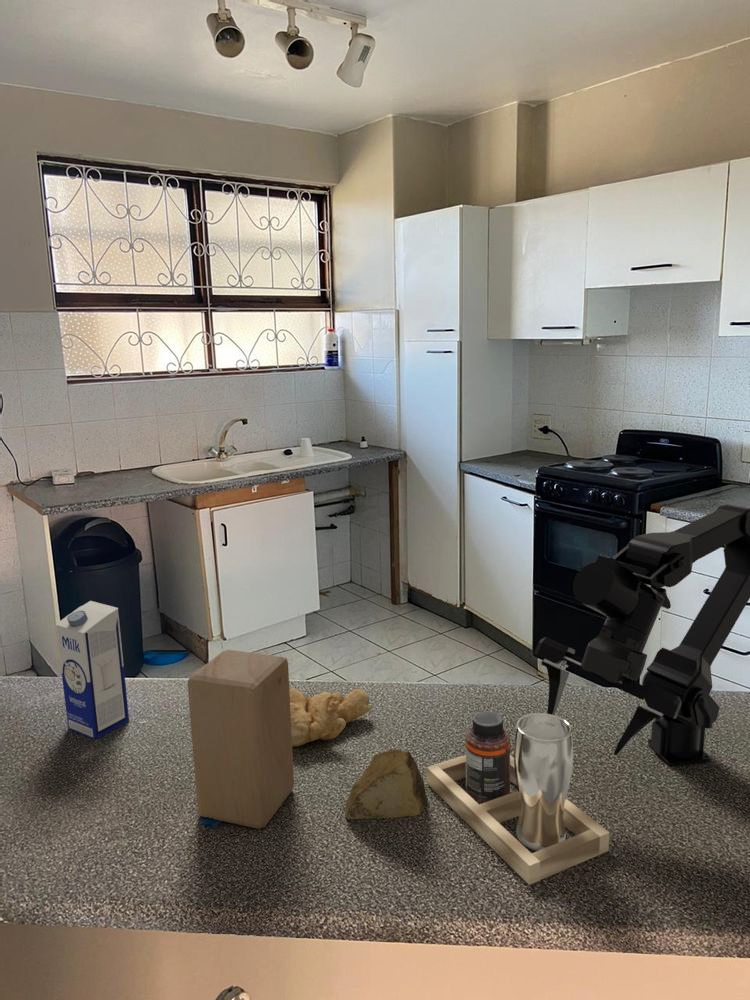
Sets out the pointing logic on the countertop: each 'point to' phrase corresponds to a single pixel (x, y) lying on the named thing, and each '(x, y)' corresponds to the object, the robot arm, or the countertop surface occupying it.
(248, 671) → the wooden block
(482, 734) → the supplement bottle
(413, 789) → the rock
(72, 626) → the milk carton
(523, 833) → the beer glass
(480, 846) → the countertop surface
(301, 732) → the ginger root
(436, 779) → the divided wooden frame
